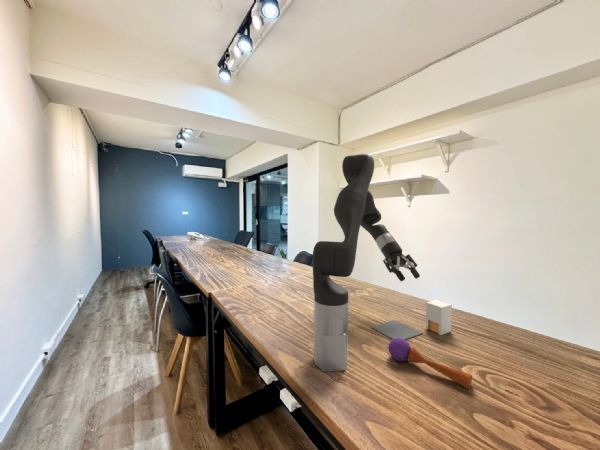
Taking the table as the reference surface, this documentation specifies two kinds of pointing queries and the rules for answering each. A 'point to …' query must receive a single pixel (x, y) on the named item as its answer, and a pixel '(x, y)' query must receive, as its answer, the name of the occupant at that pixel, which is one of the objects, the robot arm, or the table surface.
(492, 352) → the table surface
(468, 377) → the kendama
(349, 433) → the table surface
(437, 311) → the cover
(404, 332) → the mat
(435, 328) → the block
